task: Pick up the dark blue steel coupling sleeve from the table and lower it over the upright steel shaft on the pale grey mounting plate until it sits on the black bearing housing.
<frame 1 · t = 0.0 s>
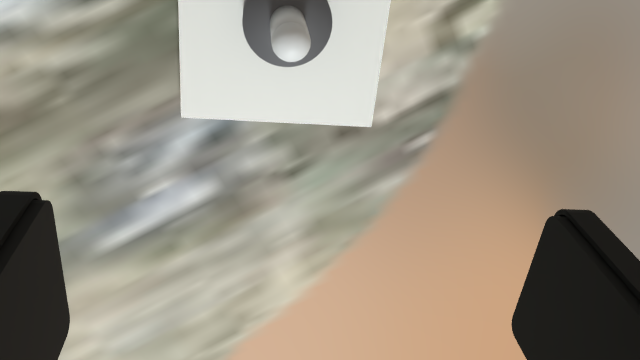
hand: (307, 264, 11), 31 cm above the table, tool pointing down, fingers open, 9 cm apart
shaft mount: (284, 7, 39), on the table
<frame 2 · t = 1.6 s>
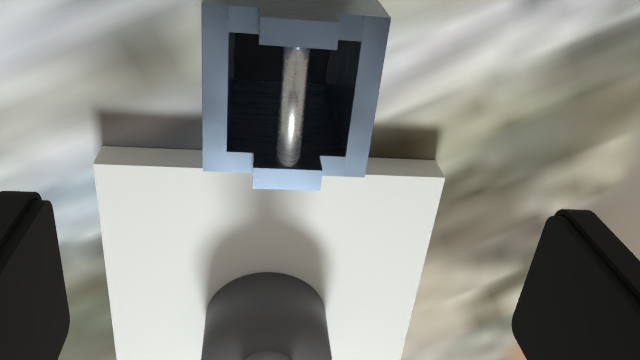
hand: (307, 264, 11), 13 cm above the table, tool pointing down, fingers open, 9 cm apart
shaft mount: (265, 296, 28), on the table
coupler: (283, 36, 21), on the table
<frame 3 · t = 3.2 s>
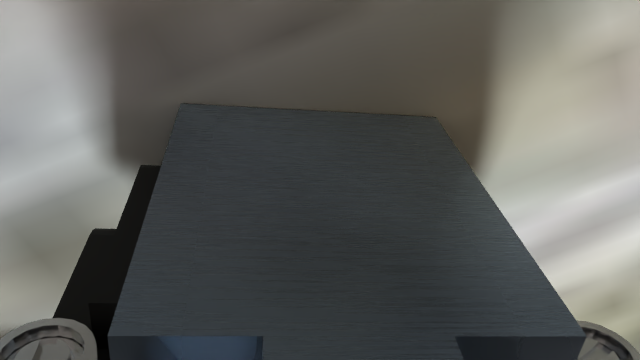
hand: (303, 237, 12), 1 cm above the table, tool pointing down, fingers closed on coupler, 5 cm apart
coupler: (301, 217, 12), on the table, touching gripper
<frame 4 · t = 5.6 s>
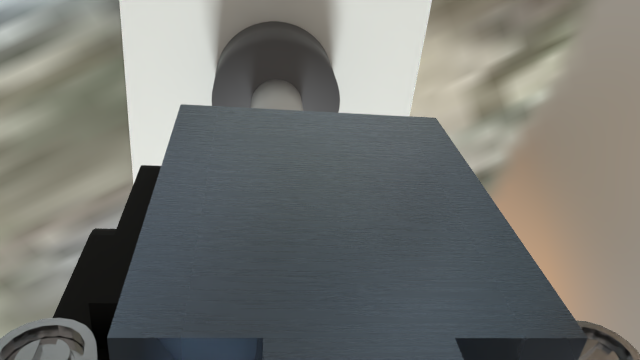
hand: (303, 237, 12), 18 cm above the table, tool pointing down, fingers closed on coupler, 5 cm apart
shaft mount: (273, 69, 28), on the table
coupler: (301, 218, 12), point 17 cm above the table, touching gripper
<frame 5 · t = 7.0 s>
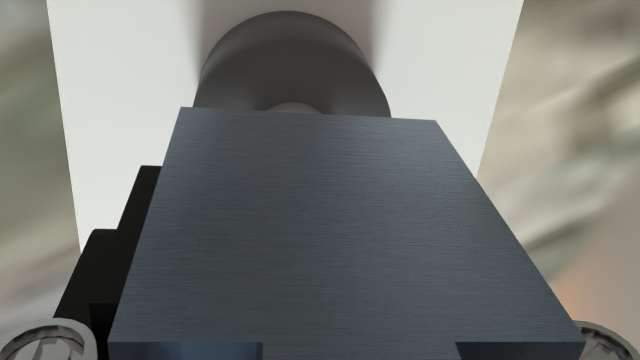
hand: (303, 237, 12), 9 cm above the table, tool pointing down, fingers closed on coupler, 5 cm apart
shaft mount: (285, 83, 19), on the table
coupler: (301, 220, 12), point 8 cm above the table, touching gripper
when the fingers open (6 cm above the table, at t = 7.9 s): coupler stays where it is, resting on shaft mount.
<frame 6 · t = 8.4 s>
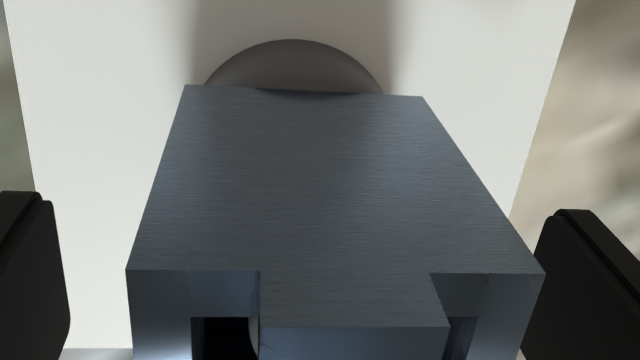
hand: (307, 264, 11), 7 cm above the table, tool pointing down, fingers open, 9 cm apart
shaft mount: (289, 117, 17), on the table
coupler: (298, 192, 13), point 4 cm above the table, touching shaft mount
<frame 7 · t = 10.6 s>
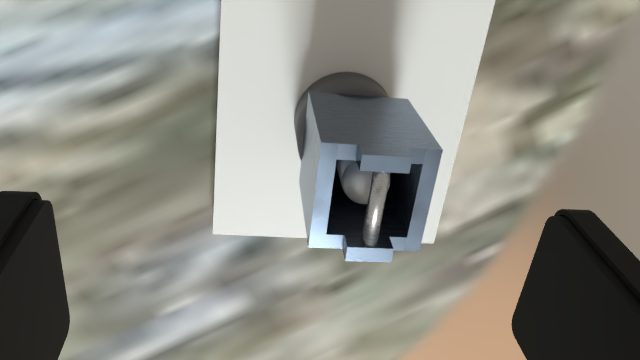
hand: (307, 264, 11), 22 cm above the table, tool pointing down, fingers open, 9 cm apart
shaft mount: (340, 110, 33), on the table
coupler: (351, 141, 29), point 4 cm above the table, touching shaft mount
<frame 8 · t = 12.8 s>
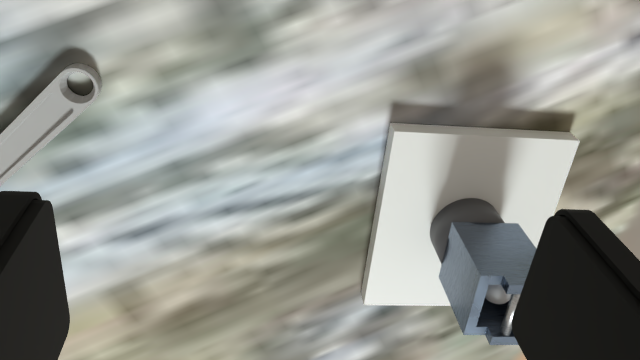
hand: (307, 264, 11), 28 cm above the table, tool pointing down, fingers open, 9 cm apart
shaft mount: (458, 217, 46), on the table
coupler: (477, 250, 42), point 4 cm above the table, touching shaft mount
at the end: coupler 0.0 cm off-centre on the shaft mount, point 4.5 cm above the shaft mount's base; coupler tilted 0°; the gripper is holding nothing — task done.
